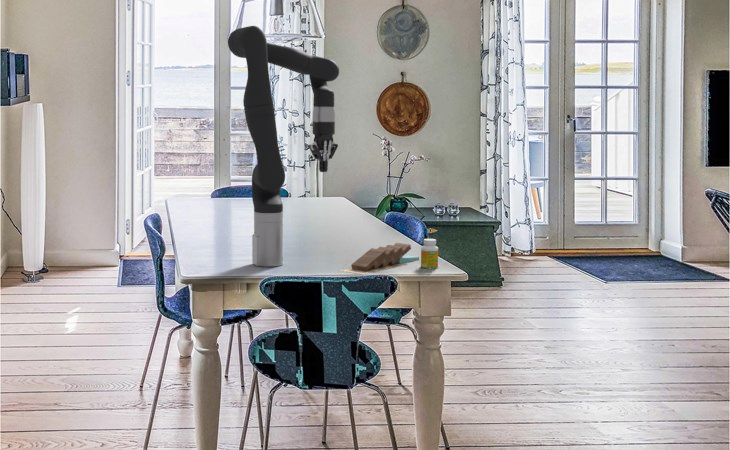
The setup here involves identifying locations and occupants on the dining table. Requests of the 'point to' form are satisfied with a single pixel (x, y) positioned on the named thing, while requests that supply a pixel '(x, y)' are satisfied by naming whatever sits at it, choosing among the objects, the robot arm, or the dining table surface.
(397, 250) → the domino
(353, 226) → the dining table surface
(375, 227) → the dining table surface
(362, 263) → the domino
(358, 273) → the domino board
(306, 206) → the dining table surface
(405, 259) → the domino
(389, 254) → the domino
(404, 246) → the domino
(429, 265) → the supplement bottle
